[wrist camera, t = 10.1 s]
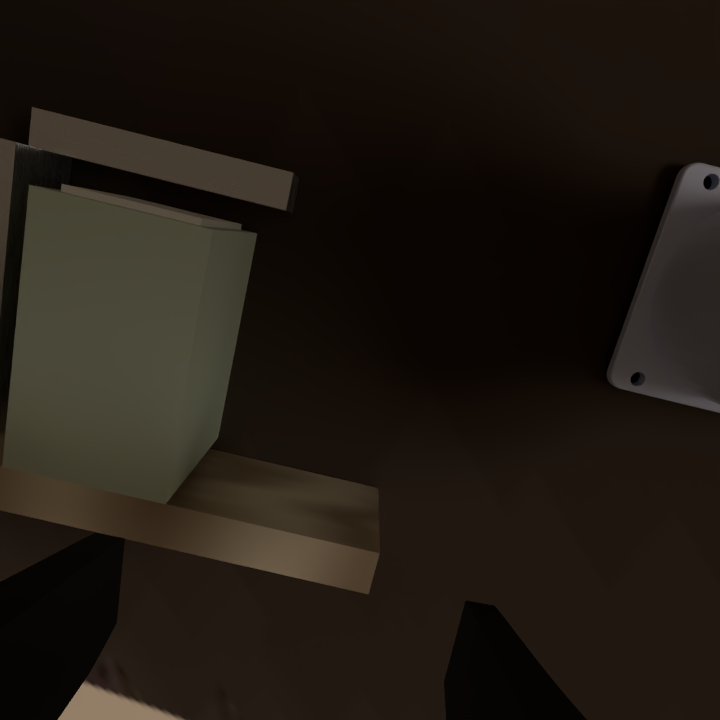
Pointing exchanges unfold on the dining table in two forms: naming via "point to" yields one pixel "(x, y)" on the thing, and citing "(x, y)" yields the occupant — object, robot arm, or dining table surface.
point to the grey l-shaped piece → (115, 150)
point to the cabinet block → (122, 340)
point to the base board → (227, 516)
